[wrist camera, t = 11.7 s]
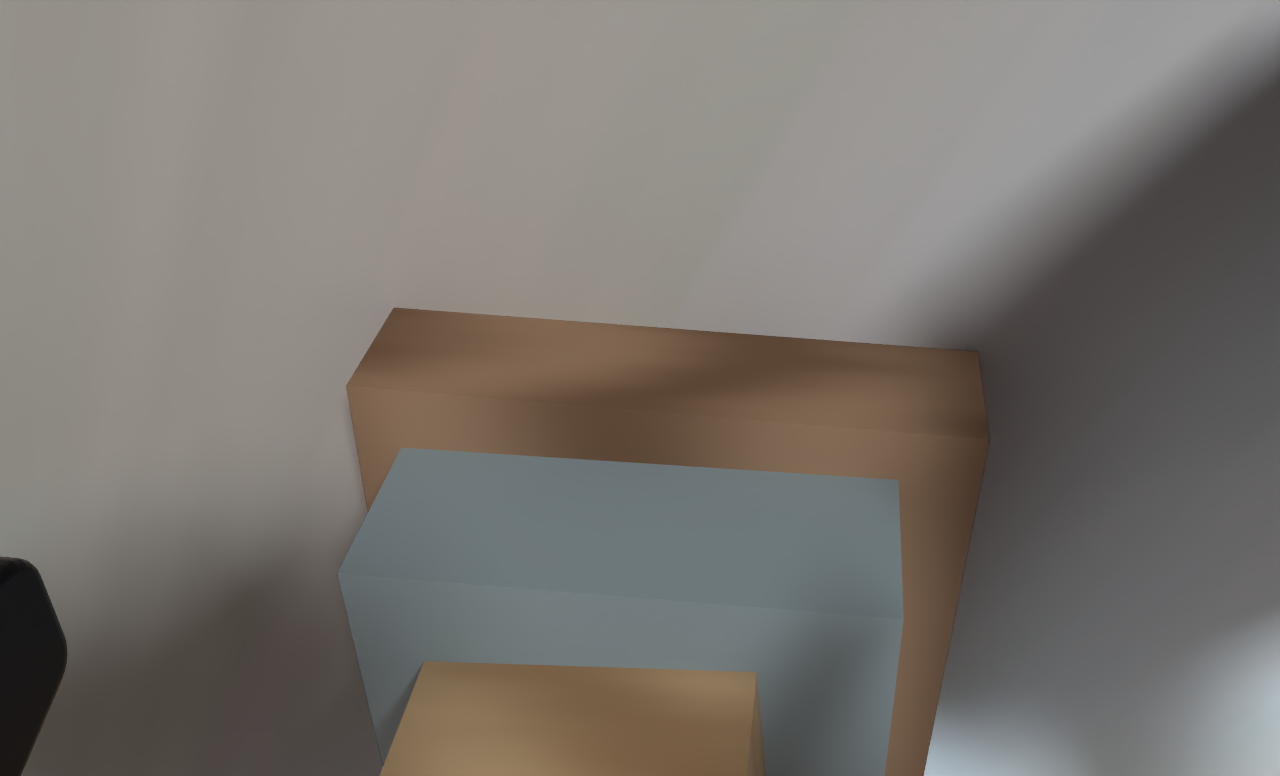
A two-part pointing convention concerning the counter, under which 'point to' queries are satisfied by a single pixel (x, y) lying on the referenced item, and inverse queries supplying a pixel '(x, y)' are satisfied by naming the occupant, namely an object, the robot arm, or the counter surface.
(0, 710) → the robot arm
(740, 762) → the oak block
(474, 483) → the tower top
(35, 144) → the counter surface
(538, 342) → the tower base
